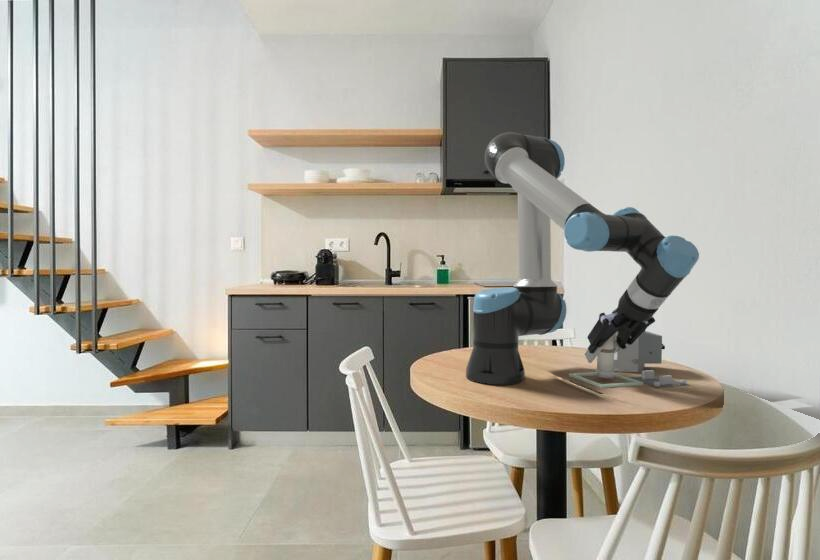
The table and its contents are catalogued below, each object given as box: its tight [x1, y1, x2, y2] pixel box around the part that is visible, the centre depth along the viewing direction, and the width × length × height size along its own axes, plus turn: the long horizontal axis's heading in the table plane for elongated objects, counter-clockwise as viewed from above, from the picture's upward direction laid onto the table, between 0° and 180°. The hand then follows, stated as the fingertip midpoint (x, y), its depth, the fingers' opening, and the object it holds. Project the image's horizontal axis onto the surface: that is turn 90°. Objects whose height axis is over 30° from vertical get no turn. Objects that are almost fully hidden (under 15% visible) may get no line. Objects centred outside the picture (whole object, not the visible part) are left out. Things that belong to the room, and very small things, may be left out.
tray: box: [568, 371, 644, 395], centre depth 115 cm, size 12×12×2 cm
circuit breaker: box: [614, 328, 666, 373], centre depth 128 cm, size 8×14×15 cm, turn 89°
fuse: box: [595, 334, 615, 379], centre depth 115 cm, size 4×4×12 cm
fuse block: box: [628, 369, 690, 389], centre depth 114 cm, size 10×10×4 cm
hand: (596, 357), depth 119 cm, fingers closed on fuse, 4 cm apart
